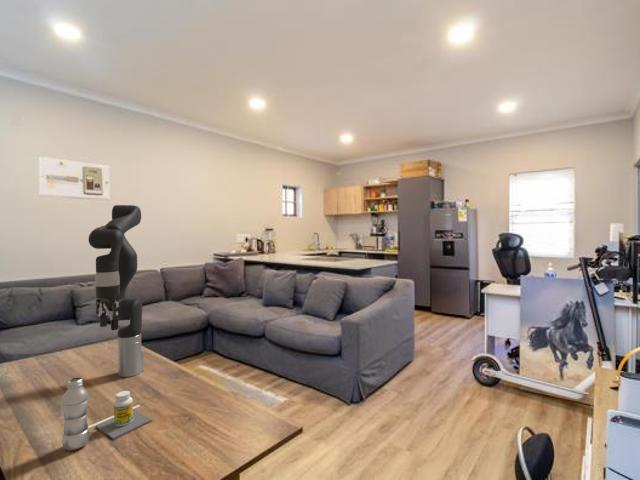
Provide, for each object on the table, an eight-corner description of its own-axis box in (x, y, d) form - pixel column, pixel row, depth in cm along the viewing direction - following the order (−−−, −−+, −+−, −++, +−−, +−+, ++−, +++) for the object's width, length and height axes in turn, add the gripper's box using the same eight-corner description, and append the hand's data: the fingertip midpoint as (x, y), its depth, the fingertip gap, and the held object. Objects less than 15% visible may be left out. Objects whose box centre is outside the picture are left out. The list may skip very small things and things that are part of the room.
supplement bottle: (132, 416, 115) (131, 388, 114) (134, 423, 110) (133, 394, 110) (114, 421, 112) (113, 392, 112) (114, 428, 107) (113, 399, 107)
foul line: (138, 405, 123) (138, 404, 123) (140, 406, 122) (140, 405, 122) (75, 433, 106) (75, 432, 106) (76, 434, 106) (76, 433, 106)
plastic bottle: (71, 440, 102) (69, 375, 102) (94, 439, 103) (93, 374, 102) (56, 454, 96) (54, 385, 95) (81, 453, 97) (79, 383, 96)
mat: (133, 410, 119) (133, 409, 119) (152, 421, 113) (152, 419, 112) (95, 427, 109) (95, 425, 109) (113, 439, 103) (113, 437, 103)
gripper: (128, 284, 122) (129, 328, 123) (109, 281, 130) (110, 323, 131) (105, 287, 116) (107, 333, 116) (87, 283, 124) (88, 327, 124)
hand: (108, 328), depth 124 cm, fingers open, 8 cm apart
